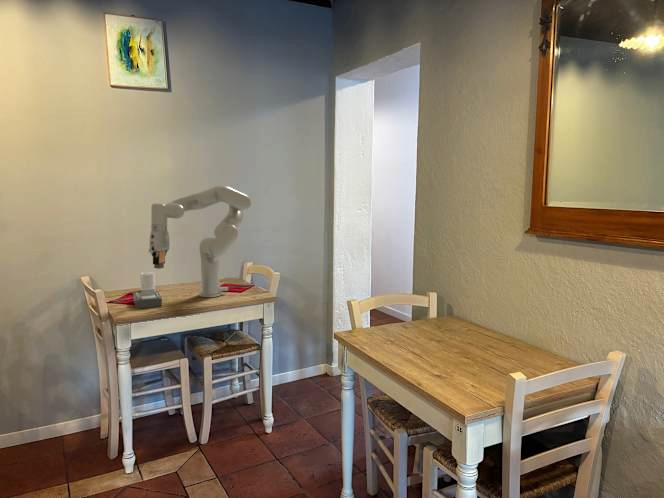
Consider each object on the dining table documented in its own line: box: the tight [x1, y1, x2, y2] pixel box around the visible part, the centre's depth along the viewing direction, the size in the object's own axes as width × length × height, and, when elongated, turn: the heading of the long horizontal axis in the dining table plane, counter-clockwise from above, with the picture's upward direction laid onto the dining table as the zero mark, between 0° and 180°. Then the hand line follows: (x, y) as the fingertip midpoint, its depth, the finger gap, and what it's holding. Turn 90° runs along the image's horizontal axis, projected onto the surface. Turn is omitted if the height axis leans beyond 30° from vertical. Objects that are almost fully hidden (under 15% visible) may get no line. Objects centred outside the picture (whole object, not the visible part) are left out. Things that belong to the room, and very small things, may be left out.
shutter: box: [140, 288, 156, 300], centre depth 238 cm, size 6×6×4 cm
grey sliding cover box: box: [133, 290, 163, 310], centre depth 244 cm, size 12×16×5 cm
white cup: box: [139, 271, 156, 291], centre depth 269 cm, size 8×8×10 cm
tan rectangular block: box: [153, 250, 166, 270], centre depth 244 cm, size 4×4×9 cm
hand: (158, 263), depth 245 cm, fingers closed on tan rectangular block, 4 cm apart
